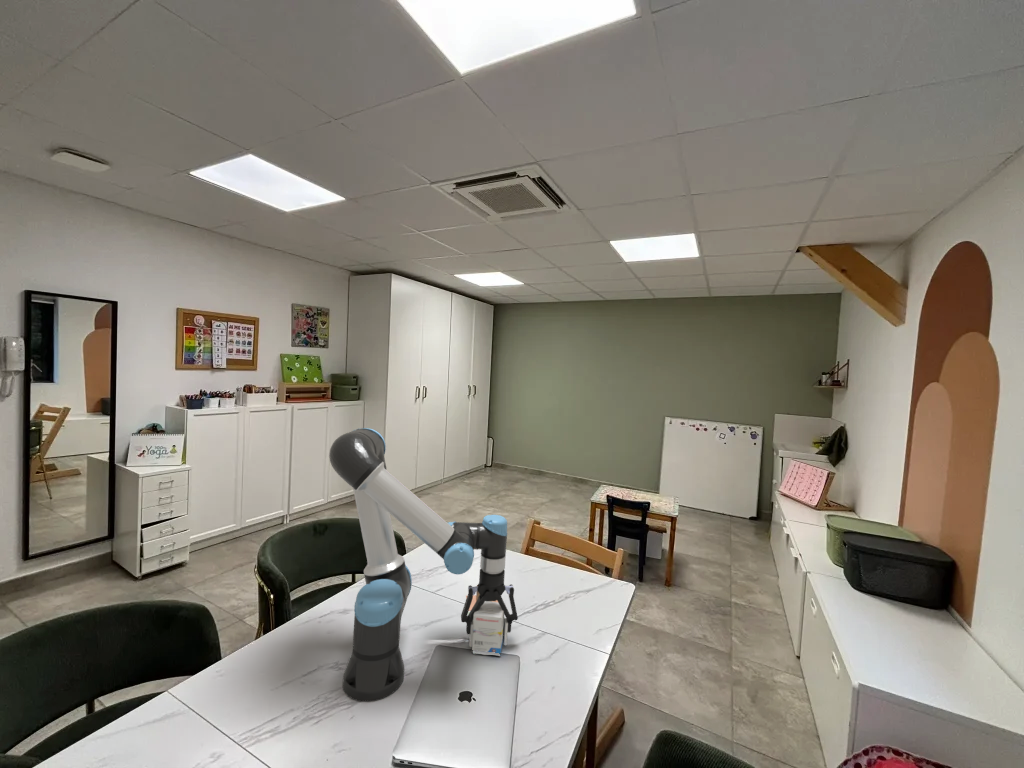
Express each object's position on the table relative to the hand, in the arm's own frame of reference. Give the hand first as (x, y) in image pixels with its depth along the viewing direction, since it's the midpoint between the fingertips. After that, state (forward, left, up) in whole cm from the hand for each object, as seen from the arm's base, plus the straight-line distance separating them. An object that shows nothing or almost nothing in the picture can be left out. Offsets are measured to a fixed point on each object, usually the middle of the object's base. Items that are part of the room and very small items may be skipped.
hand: (487, 643), depth 122 cm
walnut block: (+22, -1, 0) cm, 23 cm away
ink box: (0, 0, -1) cm, 1 cm away
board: (+17, -1, -1) cm, 17 cm away
